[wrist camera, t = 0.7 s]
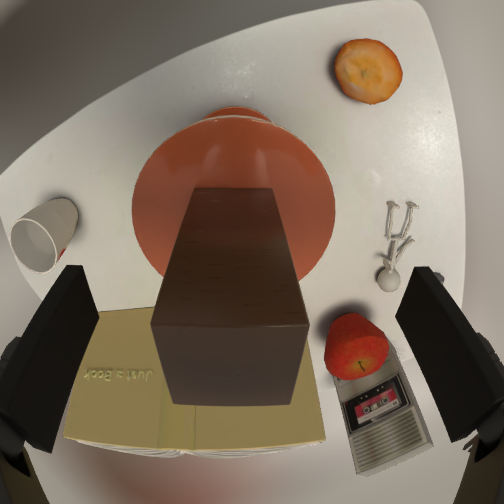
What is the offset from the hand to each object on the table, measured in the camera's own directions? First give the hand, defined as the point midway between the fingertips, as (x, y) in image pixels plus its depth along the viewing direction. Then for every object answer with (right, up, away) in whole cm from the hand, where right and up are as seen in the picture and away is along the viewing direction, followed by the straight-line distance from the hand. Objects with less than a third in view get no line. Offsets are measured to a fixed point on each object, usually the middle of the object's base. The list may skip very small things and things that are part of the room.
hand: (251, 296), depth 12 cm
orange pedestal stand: (-2, +14, +26) cm, 30 cm away
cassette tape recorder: (+23, -21, +49) cm, 58 cm away
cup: (-28, +8, +29) cm, 41 cm away
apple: (+17, -11, +43) cm, 47 cm away
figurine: (+22, +3, +34) cm, 41 cm away
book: (-10, -10, +41) cm, 43 cm away
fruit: (+13, +24, +21) cm, 35 cm away
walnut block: (-1, +4, +9) cm, 10 cm away
